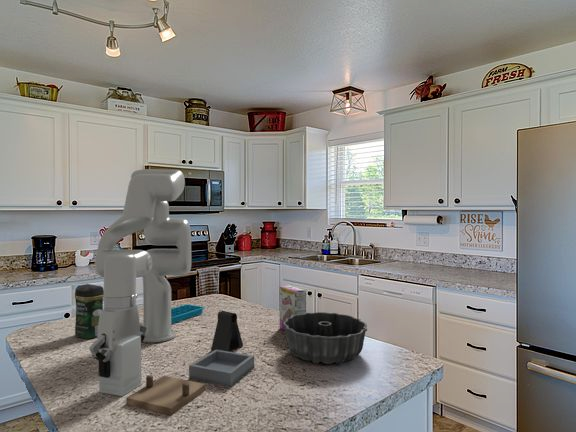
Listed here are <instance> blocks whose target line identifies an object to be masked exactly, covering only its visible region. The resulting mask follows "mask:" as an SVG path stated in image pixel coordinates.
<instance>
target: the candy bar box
mask: <svg viewBox="0 0 576 432" xmlns="http://www.w3.org/2000/svg"><path fill="white" fill-rule="evenodd" d="M278 287H279V288H278V289H279V329H280V330H283V331H285V327H284V325H283V323H284V321H286V318H290V317H291V316H293V315H297V314H304V313H307V290H305V289H302V288H300V287H297V286H293V285H280V286H278Z"/></svg>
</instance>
